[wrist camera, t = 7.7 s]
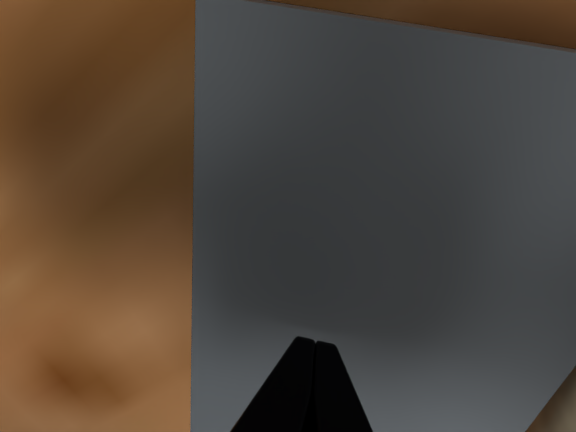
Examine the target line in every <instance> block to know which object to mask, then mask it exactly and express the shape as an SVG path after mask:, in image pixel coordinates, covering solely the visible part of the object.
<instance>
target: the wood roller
mask: <svg viewBox="0 0 576 432" xmlns="http://www.w3.org/2000/svg"><path fill="white" fill-rule="evenodd" d="M525 432H576V366H575V367H574V368H573V370H572V371H571V372H570V374H569V375H568V376H567V378H566V379H565V380H564V382H563V383H562V384H561V386H560V387H559V388H558V389H557V391H556V392H555V393H554V395H553V396H552V397H551V399H550V400H549V401H548V403H547V404H546V405H545V406H544V408H543V409H542V410H541V412H540V413H539V414H538V416H537V417H536V418H535V420H534V421H533V422H532V423H531V425H530V426H529V427H528V429H527V430H526V431H525Z"/></svg>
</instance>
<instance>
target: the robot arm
mask: <svg viewBox="0 0 576 432" xmlns="http://www.w3.org/2000/svg"><path fill="white" fill-rule="evenodd" d="M230 432H373V430H372V428H371V425H370V423H369V421H368V418H367V416H366V414H365V411H364V409H363V407H362V404H361V402H360V400H359V397H358V395H357V392H356V390H355V388H354V385H353V383H352V381H351V378H350V376H349V374H348V371H347V369H346V367H345V364H344V362H343V360H342V357H341V355H340V353H339V350H338V348H337V346H336V345H335V344H333V343H328V342H324V341H317V342H316V343H315V341H314V339H310V338H306V337H301V336H297V337H295V338H294V340H293V341H292V342H291V344H290V345H289V347H288V348H287V350H286V351H285V353H284V354H283V355H282V357H281V358H280V360H279V361H278V363H277V364H276V366H275V367H274V369H273V370H272V371H271V373H270V374H269V376H268V377H267V379H266V380H265V382H264V383H263V384H262V386H261V387H260V389H259V390H258V392H257V393H256V395H255V396H254V397H253V399H252V400H251V402H250V403H249V405H248V406H247V408H246V409H245V410H244V412H243V413H242V415H241V416H240V418H239V419H238V421H237V422H236V423H235V425H234V426H233V428H232V429H231V431H230Z"/></svg>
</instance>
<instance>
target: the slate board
mask: <svg viewBox="0 0 576 432" xmlns="http://www.w3.org/2000/svg"><path fill="white" fill-rule="evenodd" d="M297 336H301V337H306V338H310V339H314V341H315V343H316V342H317V341H324V342H328V343H333V344H335V345H336V346H337V348H338V350H339V353H340V355H341V357H342V360H343V362H344V364H345V367H346V369H347V371H348V374H349V376H350V378H351V381H352V383H353V385H354V388H355V390H356V392H357V395H358V397H359V400H360V402H361V404H362V407H363V409H364V411H365V414H366V416H367V418H368V421H369V423H370V425H371V428H372V430H373V432H525V431H526V430H527V429H528V427H529V426H530V425H531V423H532V422H533V421H534V420H535V418H536V417H537V416H538V414H539V413H540V412H541V410H542V409H543V408H544V406H545V405H546V404H547V403H548V401H549V400H550V399H551V397H552V396H553V395H554V393H555V392H556V391H557V389H558V388H559V387H560V386H561V384H562V383H563V382H564V380H565V379H566V378H567V376H568V375H569V374H570V372H571V371H572V370H573V368H574V367H575V366H576V49H571V48H564V47H558V46H552V45H545V44H539V43H533V42H526V41H520V40H514V39H507V38H501V37H495V36H488V35H482V34H475V33H469V32H463V31H456V30H450V29H444V28H437V27H431V26H425V25H418V24H412V23H406V22H399V21H393V20H386V19H380V18H374V17H367V16H361V15H355V14H348V13H342V12H336V11H329V10H323V9H317V8H310V7H304V6H297V5H291V4H285V3H278V2H272V1H266V0H196V9H195V93H194V178H193V262H192V346H191V430H190V432H230V431H231V429H232V428H233V426H234V425H235V423H236V422H237V421H238V419H239V418H240V416H241V415H242V413H243V412H244V410H245V409H246V408H247V406H248V405H249V403H250V402H251V400H252V399H253V397H254V396H255V395H256V393H257V392H258V390H259V389H260V387H261V386H262V384H263V383H264V382H265V380H266V379H267V377H268V376H269V374H270V373H271V371H272V370H273V369H274V367H275V366H276V364H277V363H278V361H279V360H280V358H281V357H282V355H283V354H284V353H285V351H286V350H287V348H288V347H289V345H290V344H291V342H292V341H293V340H294V338H295V337H297Z"/></svg>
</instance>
